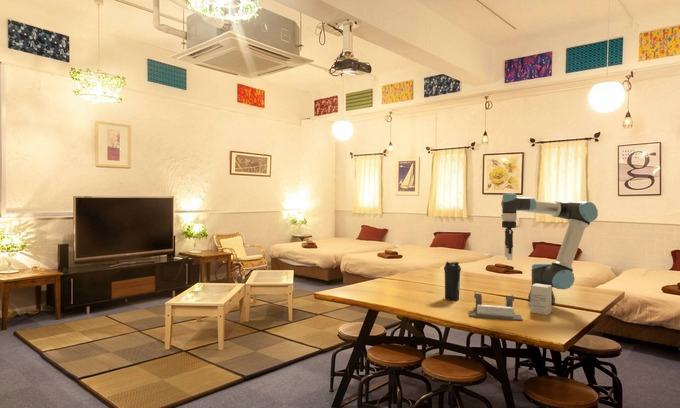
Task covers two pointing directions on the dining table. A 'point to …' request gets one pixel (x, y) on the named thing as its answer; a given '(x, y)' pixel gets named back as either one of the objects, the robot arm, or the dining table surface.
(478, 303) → the rack
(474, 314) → the mat
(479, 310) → the rail
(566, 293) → the dining table surface
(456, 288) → the water bottle
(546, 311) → the supplement box
